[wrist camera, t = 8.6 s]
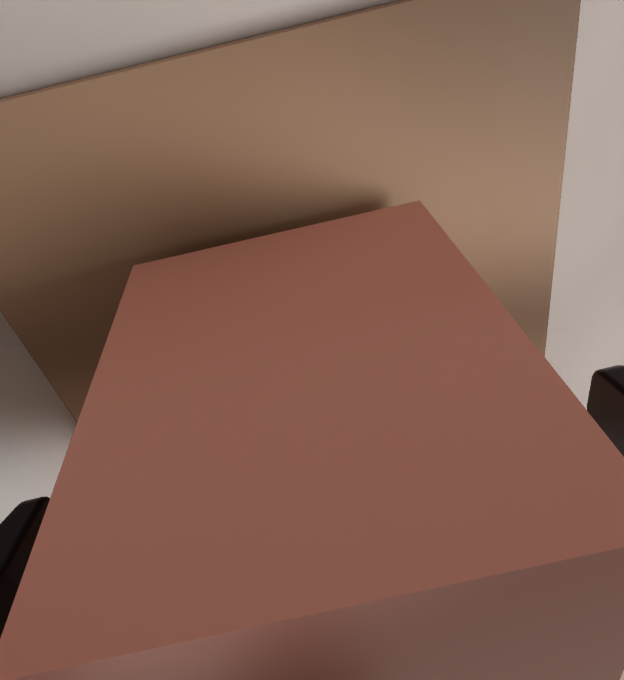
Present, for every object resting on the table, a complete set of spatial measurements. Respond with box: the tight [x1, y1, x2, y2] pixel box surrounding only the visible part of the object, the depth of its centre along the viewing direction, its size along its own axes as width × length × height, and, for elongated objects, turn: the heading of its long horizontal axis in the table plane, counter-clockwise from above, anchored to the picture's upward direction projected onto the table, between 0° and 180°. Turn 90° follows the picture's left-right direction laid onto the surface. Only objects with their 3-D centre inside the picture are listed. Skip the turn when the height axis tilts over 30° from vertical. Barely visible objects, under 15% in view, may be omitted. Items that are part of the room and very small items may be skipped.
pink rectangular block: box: [0, 200, 624, 680], centre depth 8 cm, size 5×5×7 cm
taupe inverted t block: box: [0, 0, 581, 422], centre depth 9 cm, size 11×11×7 cm
